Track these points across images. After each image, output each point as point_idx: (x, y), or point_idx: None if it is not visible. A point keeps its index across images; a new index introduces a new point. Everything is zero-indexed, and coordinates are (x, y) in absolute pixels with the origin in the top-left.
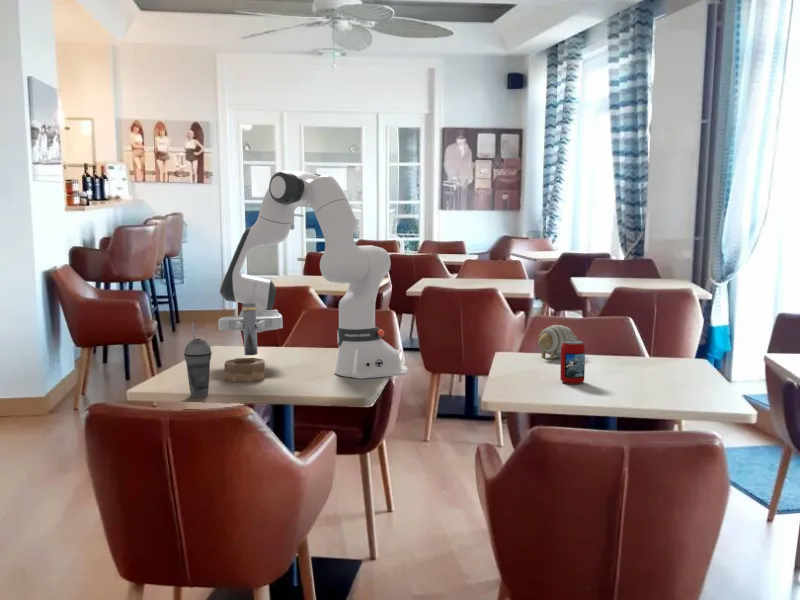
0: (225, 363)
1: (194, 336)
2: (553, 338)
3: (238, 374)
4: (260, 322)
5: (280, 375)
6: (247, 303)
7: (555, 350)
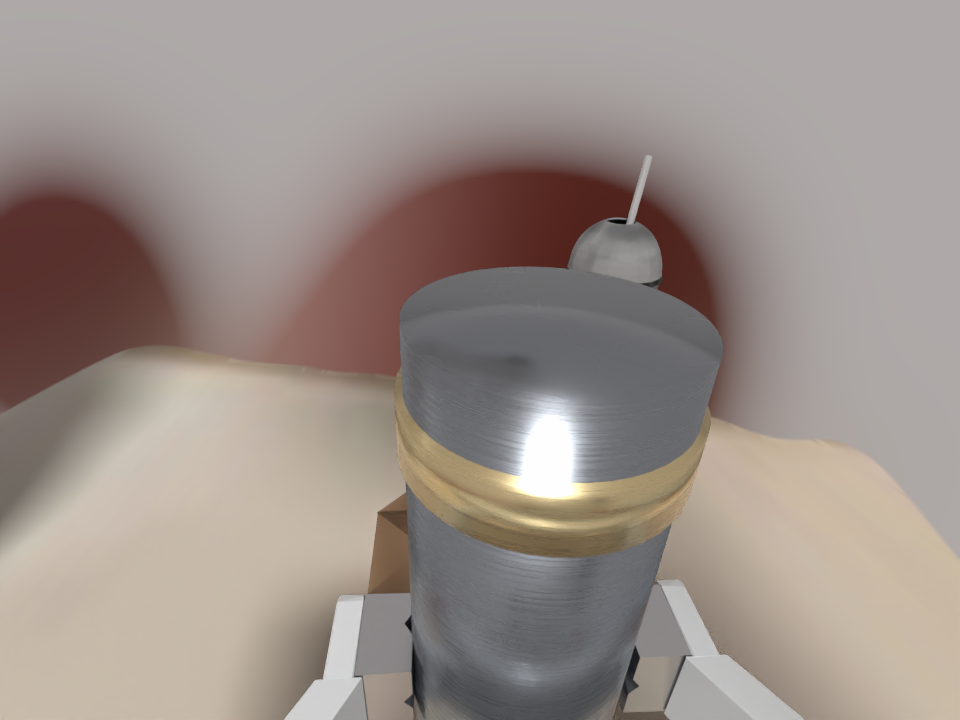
0: None
1: (631, 208)
2: None
3: None
4: (340, 611)
5: (272, 668)
6: (595, 323)
7: None
